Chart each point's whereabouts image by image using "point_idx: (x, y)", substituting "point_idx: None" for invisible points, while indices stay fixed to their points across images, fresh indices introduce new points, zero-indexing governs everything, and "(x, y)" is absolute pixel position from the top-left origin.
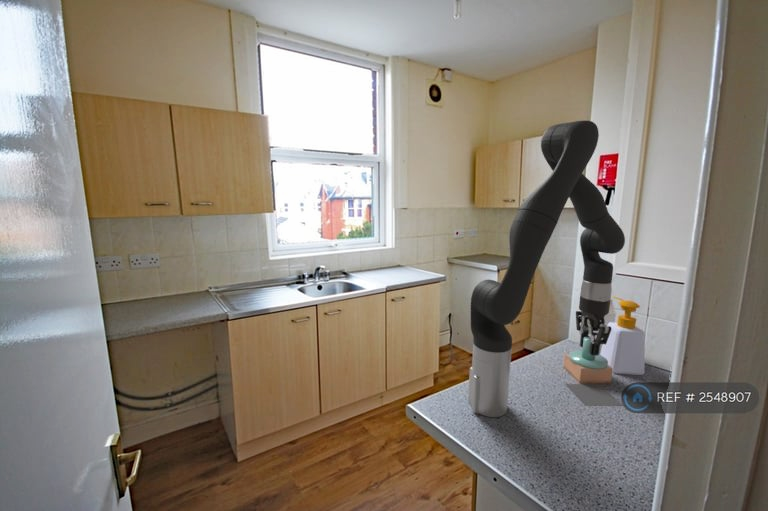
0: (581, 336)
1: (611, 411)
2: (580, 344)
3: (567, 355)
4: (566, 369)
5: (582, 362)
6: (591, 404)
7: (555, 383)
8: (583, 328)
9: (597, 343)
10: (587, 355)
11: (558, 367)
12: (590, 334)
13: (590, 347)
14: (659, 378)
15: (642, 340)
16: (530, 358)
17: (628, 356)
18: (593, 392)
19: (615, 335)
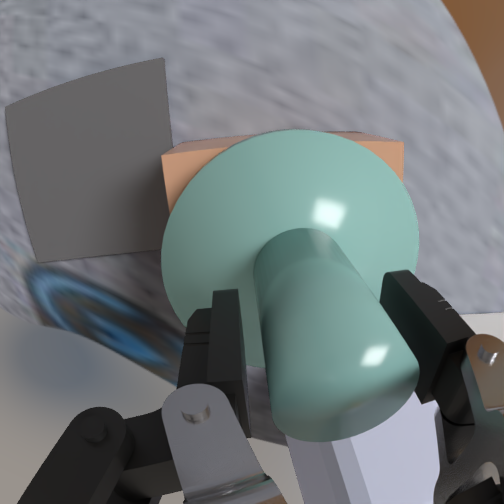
0: (453, 333)
1: (3, 201)
2: (407, 277)
3: (379, 147)
4: (330, 132)
5: (207, 188)
6: (12, 135)
7: (181, 18)
8: (493, 437)
9: (78, 420)
10: (265, 266)
11: (368, 110)
12: (234, 493)
13: (235, 330)
14: (270, 439)
15: None
16: (445, 21)
17: (304, 446)
18: (98, 180)
19: (375, 499)
